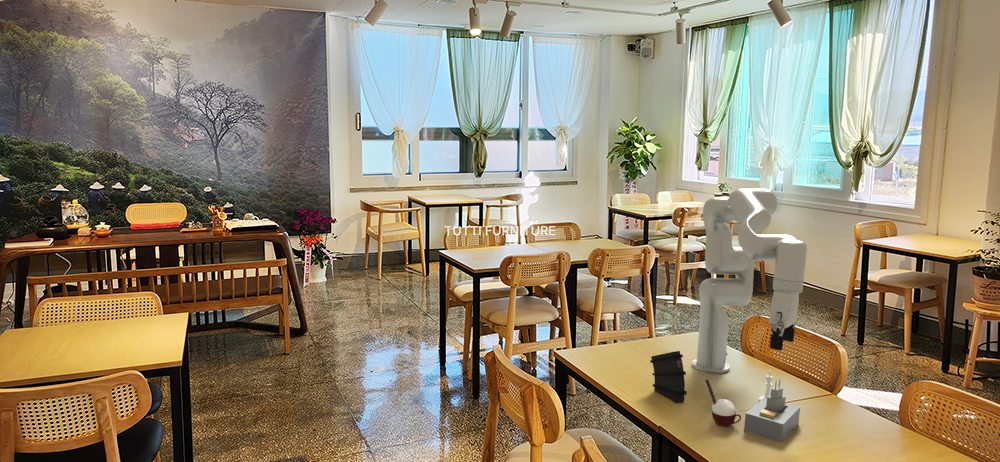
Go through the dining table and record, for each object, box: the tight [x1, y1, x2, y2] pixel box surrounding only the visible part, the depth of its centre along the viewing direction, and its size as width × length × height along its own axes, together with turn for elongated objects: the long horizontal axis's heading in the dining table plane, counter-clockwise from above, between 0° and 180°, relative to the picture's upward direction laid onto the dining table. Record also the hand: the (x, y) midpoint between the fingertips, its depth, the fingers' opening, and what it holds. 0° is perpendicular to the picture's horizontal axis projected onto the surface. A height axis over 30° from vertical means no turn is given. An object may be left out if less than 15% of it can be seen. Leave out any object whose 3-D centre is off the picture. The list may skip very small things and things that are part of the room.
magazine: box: [649, 350, 687, 404], centre depth 206 cm, size 4×13×15 cm, turn 26°
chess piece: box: [758, 369, 774, 402], centre depth 204 cm, size 5×5×10 cm
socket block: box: [743, 398, 801, 443], centre depth 186 cm, size 15×10×6 cm, turn 140°
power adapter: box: [766, 378, 787, 413], centre depth 188 cm, size 3×5×12 cm, turn 127°
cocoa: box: [705, 377, 742, 427], centre depth 187 cm, size 10×6×12 cm
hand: (781, 344), depth 185 cm, fingers open, 9 cm apart
